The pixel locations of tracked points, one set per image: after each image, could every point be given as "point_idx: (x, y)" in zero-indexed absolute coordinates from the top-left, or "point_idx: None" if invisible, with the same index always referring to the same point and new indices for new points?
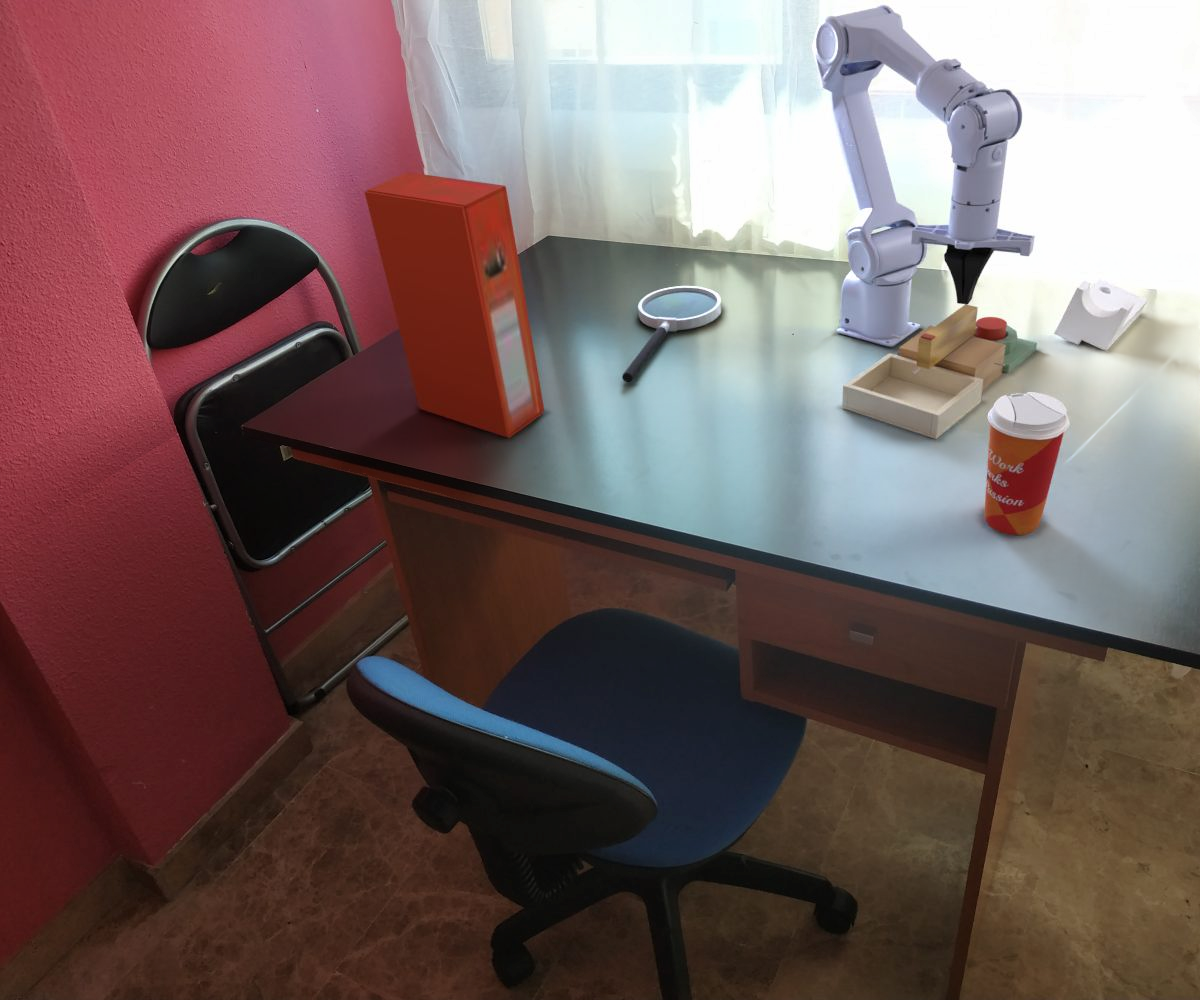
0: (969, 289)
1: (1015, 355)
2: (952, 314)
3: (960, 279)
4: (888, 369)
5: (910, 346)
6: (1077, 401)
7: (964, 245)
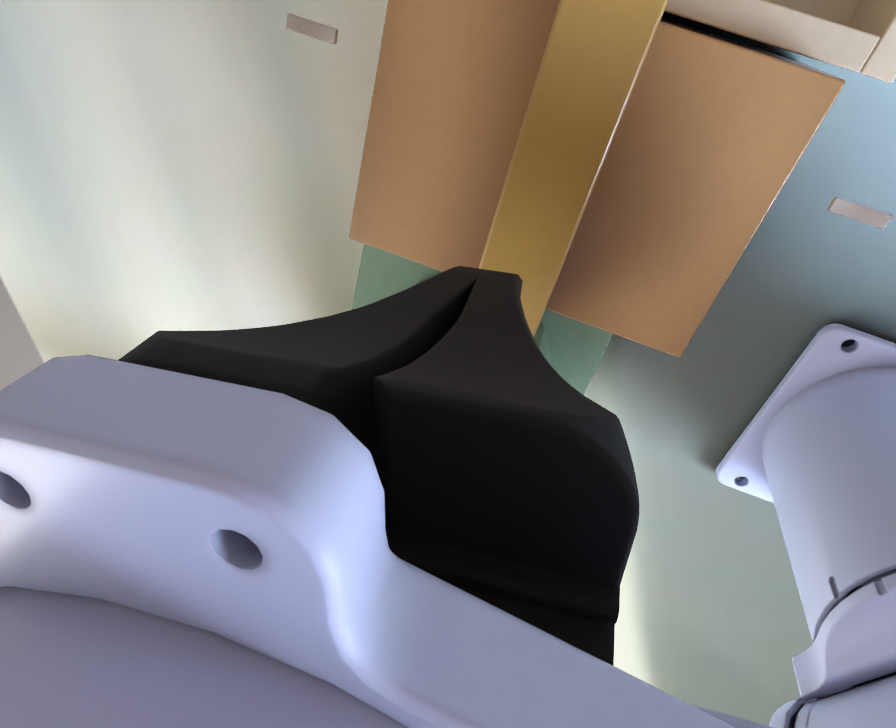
0: (411, 288)
1: (369, 297)
2: (556, 263)
3: (466, 328)
4: (869, 14)
5: (773, 109)
6: (142, 72)
7: (79, 425)
